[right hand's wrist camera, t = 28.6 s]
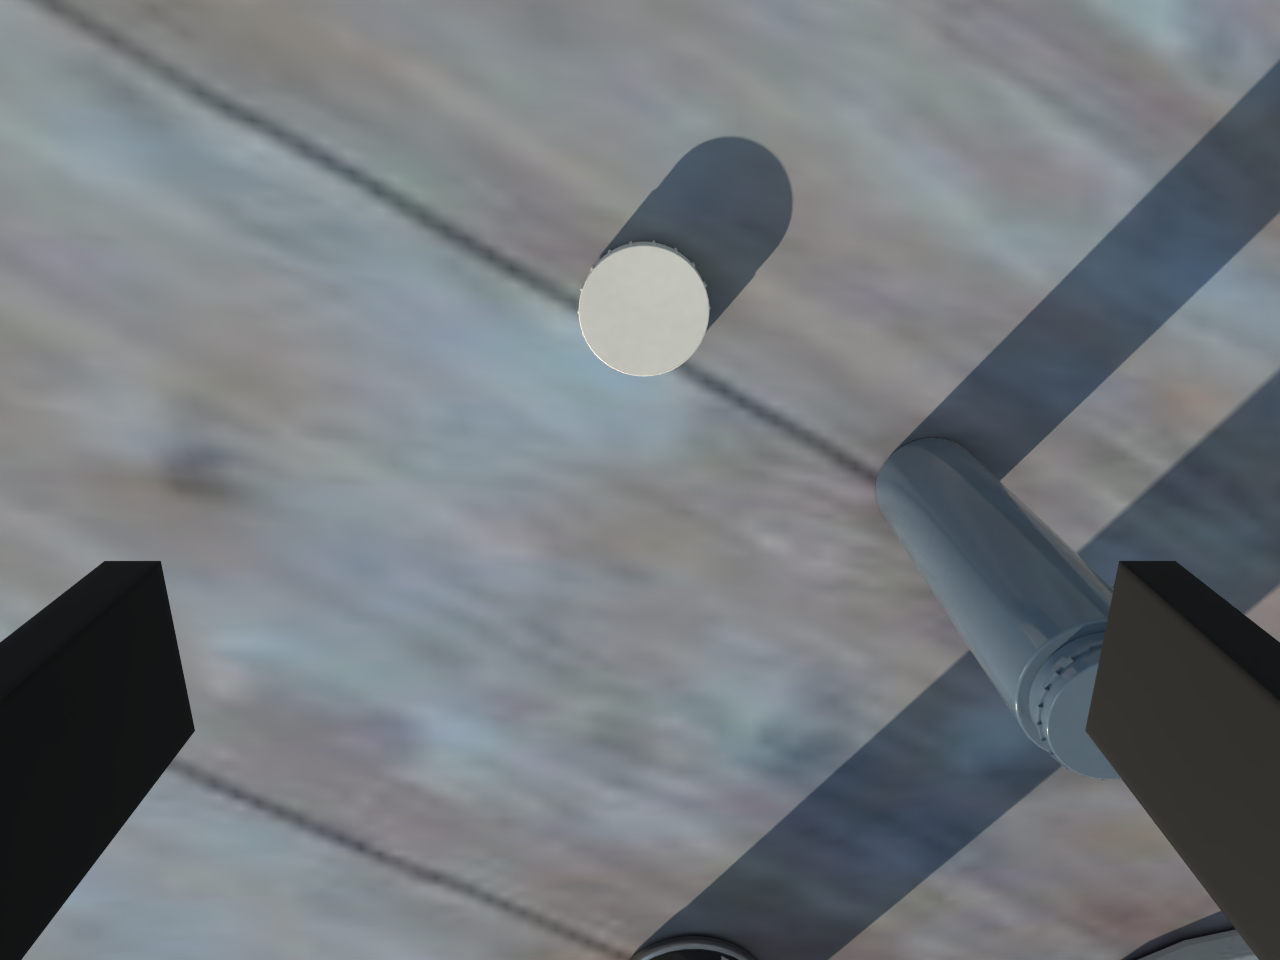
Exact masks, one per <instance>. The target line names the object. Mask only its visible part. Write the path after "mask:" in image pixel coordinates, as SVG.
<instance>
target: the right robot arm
mask: <svg viewBox="0 0 1280 960" xmlns="http://www.w3.org/2000/svg"><path fill="white" fill-rule="evenodd" d="M194 731H195V729H194V724H193V719H192V714H191V709H190V704H189V699H188V694H187V689H186V684H185V679H184V674H183V669H182V664H181V660H180V655H179V650H178V645H177V640H176V635H175V630H174V625H173V620H172V615H171V610H170V605H169V600H168V595H167V590H166V585H165V580H164V575H163V570H162V565H161V561H104V562H103V563H102V564H100V565H99V566H98V567H97V568H95V569H94V570H93V571H91V572H90V573H89V574H88V575H86V576H85V577H84V578H82V579H81V580H80V581H79V582H77V583H76V584H75V585H73V586H72V587H71V588H70V589H68V590H67V591H66V592H64V593H63V594H62V595H61V596H59V597H58V598H57V599H56V600H54V601H53V602H52V603H50V604H49V605H48V606H47V607H45V608H44V609H43V610H41V611H40V612H39V613H38V614H36V615H35V616H34V617H32V618H31V619H30V620H29V621H27V622H26V623H25V624H23V625H22V626H21V627H20V628H18V629H17V630H16V631H14V632H13V633H12V634H11V635H9V636H8V637H7V638H6V639H4V640H3V641H2V642H0V960H21V959H22V958H23V957H24V955H25V954H26V953H27V951H28V950H29V949H30V948H31V946H32V945H33V944H34V942H35V941H36V940H37V938H38V937H39V936H40V934H41V933H42V932H43V930H44V929H45V928H46V926H47V925H48V924H49V922H50V921H51V920H52V918H53V917H54V916H55V915H56V913H57V912H58V911H59V909H60V908H61V907H62V905H63V904H64V903H65V901H66V900H67V899H68V897H69V896H70V895H71V893H72V892H73V891H74V889H75V888H76V887H77V886H78V884H79V883H80V882H81V880H82V879H83V878H84V876H85V875H86V874H87V872H88V871H89V870H90V868H91V867H92V866H93V864H94V863H95V862H96V860H97V859H98V858H99V857H100V855H101V854H102V853H103V851H104V850H105V849H106V847H107V846H108V845H109V843H110V842H111V841H112V839H113V838H114V837H115V835H116V834H117V833H118V831H119V830H120V829H121V827H122V826H123V825H124V824H125V822H126V821H127V820H128V818H129V817H130V816H131V814H132V813H133V812H134V810H135V809H136V808H137V806H138V805H139V804H140V802H141V801H142V800H143V798H144V797H145V796H146V795H147V793H148V792H149V791H150V789H151V788H152V787H153V785H154V784H155V783H156V781H157V780H158V779H159V777H160V776H161V775H162V773H163V772H164V771H165V769H166V768H167V767H168V765H169V764H170V763H171V762H172V760H173V759H174V758H175V756H176V755H177V754H178V752H179V751H180V750H181V748H182V747H183V746H184V744H185V743H186V742H187V740H188V739H189V738H190V736H191V735H192V734H193V733H194ZM1085 731H1086V733H1087V734H1088V735H1089V736H1090V738H1091V739H1092V740H1093V742H1094V743H1095V744H1096V746H1097V747H1098V748H1099V750H1100V751H1101V752H1102V754H1103V755H1104V756H1105V758H1106V759H1107V760H1108V762H1109V763H1110V764H1111V765H1112V767H1113V768H1114V769H1115V771H1116V772H1117V773H1118V775H1119V776H1120V777H1121V779H1122V780H1123V781H1124V783H1125V784H1126V785H1127V787H1128V788H1129V789H1130V791H1131V792H1132V793H1133V795H1134V796H1135V797H1136V798H1137V800H1138V801H1139V802H1140V804H1141V805H1142V806H1143V808H1144V809H1145V810H1146V812H1147V813H1148V814H1149V816H1150V817H1151V818H1152V820H1153V821H1154V822H1155V824H1156V825H1157V826H1158V827H1159V829H1160V830H1161V831H1162V833H1163V834H1164V835H1165V837H1166V838H1167V839H1168V841H1169V842H1170V843H1171V845H1172V846H1173V847H1174V849H1175V850H1176V851H1177V853H1178V854H1179V855H1180V857H1181V858H1182V859H1183V860H1184V862H1185V863H1186V864H1187V866H1188V867H1189V868H1190V870H1191V871H1192V872H1193V874H1194V875H1195V876H1196V878H1197V879H1198V880H1199V882H1200V883H1201V884H1202V886H1203V887H1204V888H1205V889H1206V891H1207V892H1208V893H1209V895H1210V896H1211V897H1212V899H1213V900H1214V901H1215V903H1216V904H1217V905H1218V907H1219V908H1220V909H1221V911H1222V912H1223V913H1224V915H1225V916H1226V917H1227V918H1228V920H1229V921H1230V922H1231V924H1232V925H1233V926H1234V928H1235V929H1236V930H1237V932H1238V933H1239V934H1240V936H1241V937H1242V938H1243V940H1244V941H1245V942H1246V944H1247V945H1248V946H1249V948H1250V949H1251V950H1252V951H1253V953H1254V954H1255V955H1256V957H1257V958H1258V959H1259V960H1280V642H1278V641H1277V640H1276V639H1274V638H1273V637H1272V636H1271V635H1269V634H1268V633H1267V632H1266V631H1264V630H1263V629H1262V628H1260V627H1259V626H1258V625H1257V624H1255V623H1254V622H1253V621H1251V620H1250V619H1249V618H1248V617H1246V616H1245V615H1244V614H1242V613H1241V612H1240V611H1239V610H1237V609H1236V608H1235V607H1233V606H1232V605H1231V604H1230V603H1228V602H1227V601H1226V600H1224V599H1223V598H1222V597H1221V596H1219V595H1218V594H1217V593H1216V592H1214V591H1213V590H1212V589H1210V588H1209V587H1208V586H1207V585H1205V584H1204V583H1203V582H1201V581H1200V580H1199V579H1198V578H1196V577H1195V576H1194V575H1192V574H1191V573H1190V572H1189V571H1187V570H1186V569H1185V568H1183V567H1182V566H1181V565H1180V564H1178V563H1177V562H1176V561H1119V565H1118V570H1117V575H1116V580H1115V585H1114V590H1113V595H1112V600H1111V605H1110V610H1109V615H1108V620H1107V625H1106V630H1105V635H1104V640H1103V645H1102V650H1101V655H1100V660H1099V664H1098V669H1097V674H1096V679H1095V684H1094V689H1093V694H1092V699H1091V704H1090V709H1089V714H1088V719H1087V724H1086V729H1085Z"/></svg>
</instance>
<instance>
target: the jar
mask: <svg viewBox="0 0 1280 960" xmlns="http://www.w3.org/2000/svg"><path fill="white" fill-rule="evenodd" d="M875 494H876V501H877V505H878V508H879V510H880V512H881V514H882V515H883V517H884V518H885V520H886V521H887V523H888V525H889V526H890V528H891V529H892V531H893V532H894V534H895V535H896V537H897V538H898V540H899V541H900V543H901V544H902V546H903V548H904V549H905V551H906V552H907V554H908V555H909V557H910V558H911V560H912V561H913V563H914V564H915V566H916V567H917V569H918V571H919V572H920V574H921V575H922V577H923V578H924V580H925V581H926V583H927V584H928V586H929V587H930V589H931V590H932V592H933V594H934V595H935V597H936V598H937V600H938V601H939V603H940V604H941V606H942V607H943V609H944V610H945V612H946V613H947V615H948V617H949V618H950V620H951V621H952V623H953V624H954V626H955V627H956V629H957V630H958V632H959V633H960V635H961V636H962V638H963V640H964V641H965V643H966V644H967V646H968V647H969V649H970V650H971V652H972V653H973V655H974V656H975V658H976V659H977V661H978V663H979V664H980V666H981V667H982V669H983V670H984V672H985V673H986V675H987V676H988V678H989V679H990V681H991V682H992V684H993V685H994V687H995V689H996V690H997V692H998V693H999V695H1000V696H1001V698H1002V699H1003V701H1004V702H1005V704H1006V705H1007V707H1008V708H1009V710H1010V712H1011V713H1012V715H1013V716H1014V718H1015V719H1016V721H1017V722H1018V724H1019V725H1020V727H1021V728H1022V730H1023V731H1024V733H1025V734H1026V735H1027V737H1028V738H1029V739H1030V740H1031V741H1032V742H1033V743H1035V744H1036V745H1037V746H1039V747H1040V748H1042V749H1043V750H1045V751H1047V752H1049V754H1050V755H1051V757H1053V758H1054V759H1055V760H1056V761H1058V762H1059V763H1060V764H1061V765H1063V766H1064V768H1066V769H1069V770H1071V771H1074V772H1076V773H1079V774H1080V775H1081V776H1085V777H1092V778H1098V779H1101V780H1106V779H1119V778H1120V779H1121V777H1120V776H1119V775H1118V773H1117V772H1116V771H1115V769H1114V768H1113V767H1112V765H1111V764H1110V763H1109V762H1108V760H1107V759H1106V758H1105V756H1104V755H1103V754H1102V752H1101V751H1100V750H1099V748H1098V747H1097V746H1096V744H1095V743H1094V742H1093V740H1092V739H1091V738H1090V736H1089V735H1088V734H1087V733H1086V731H1085V729H1086V724H1087V719H1088V714H1089V709H1090V704H1091V699H1092V694H1093V689H1094V684H1095V679H1096V674H1097V669H1098V664H1099V660H1100V655H1101V650H1102V645H1103V640H1104V635H1105V630H1106V625H1107V620H1108V615H1109V610H1110V605H1111V600H1112V595H1113V590H1114V588H1113V587H1112V586H1111V585H1110V584H1109V583H1108V582H1107V581H1106V580H1105V579H1104V578H1103V577H1102V576H1101V575H1100V574H1098V573H1097V572H1096V571H1095V570H1094V569H1093V568H1092V567H1091V566H1090V565H1089V564H1088V563H1087V562H1086V561H1085V560H1084V559H1082V558H1081V557H1080V556H1079V555H1078V554H1077V553H1076V552H1075V551H1074V550H1073V549H1072V548H1071V547H1070V546H1069V545H1068V544H1066V543H1065V542H1064V541H1063V540H1062V539H1061V538H1060V537H1059V536H1058V535H1057V534H1056V533H1055V532H1054V531H1053V530H1052V529H1050V528H1049V527H1048V526H1047V525H1046V524H1045V523H1044V522H1043V521H1042V520H1041V519H1040V518H1039V517H1038V516H1037V515H1036V514H1034V513H1033V512H1032V511H1031V510H1030V509H1029V508H1028V507H1027V506H1026V505H1025V504H1024V503H1023V502H1022V501H1021V500H1020V499H1018V498H1017V497H1016V496H1015V495H1014V494H1013V493H1012V492H1011V491H1010V490H1009V489H1008V488H1007V487H1006V486H1005V485H1004V484H1002V483H1001V482H1000V481H999V480H998V479H997V478H996V477H995V476H994V475H993V474H992V473H991V472H990V471H989V470H988V469H986V468H985V467H984V466H983V465H982V464H981V463H980V462H979V461H978V460H977V459H976V458H975V457H974V456H973V455H972V454H970V453H969V452H968V451H967V450H966V449H965V448H964V447H962V446H961V445H959V444H957V443H956V442H953V441H951V440H947V439H943V438H923V439H919V440H915V441H913V442H910V443H908V444H906V445H904V446H902V447H901V448H899V449H898V450H897V451H895V452H894V453H893V454H892V455H891V456H890V457H889V458H888V459H887V461H886V462H885V463H884V465H883V466H882V468H881V470H880V472H879V475H878V478H877V482H876V489H875ZM1121 780H1122V779H1121Z"/></svg>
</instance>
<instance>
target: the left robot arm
mask: <svg viewBox="0 0 1280 960" xmlns="http://www.w3.org/2000/svg"><path fill="white" fill-rule="evenodd" d="M630 960H756V959H755V958H754V957H752V956H751V955H750V954H749V953H748V952H746V951H745V950H743V949H742V948H740V947H738V946H736V945H734V944H732V943H729V942H727V941H724V940H720V939H716V938H712V937H704V936H683V937H676V938H670V939H667V940H663V941H660V942H657V943H655V944H652V945H650V946H648V947H646V948H645V949H643V950H641V951H640V952H638V953H637V954H636V955H635V956H633V957H632V958H631V959H630Z"/></svg>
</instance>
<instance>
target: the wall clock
mask: <svg viewBox="0 0 1280 960" xmlns="http://www.w3.org/2000/svg"><path fill="white" fill-rule="evenodd" d="M1138 960H1259V959H1258V958H1257V957H1256V955H1255V954H1254V953H1253V951H1252V950H1251V949H1250V948H1249V946H1248V945H1247V944H1246V942H1245V941H1244V940H1243V938H1242V937H1241V936H1240V934H1239V933H1238V932H1237V930H1231V931H1226V932H1222V933H1217V934H1212V935H1207V936H1203V937H1198V938H1193V939H1189V940H1184V941H1182V942H1179V943H1177V944H1174V945H1172V946H1170V947H1167V948H1165V949H1162V950H1160V951H1157V952H1155V953H1153V954H1150V955H1148V956H1145V957H1143V958H1141V959H1138Z"/></svg>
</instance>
